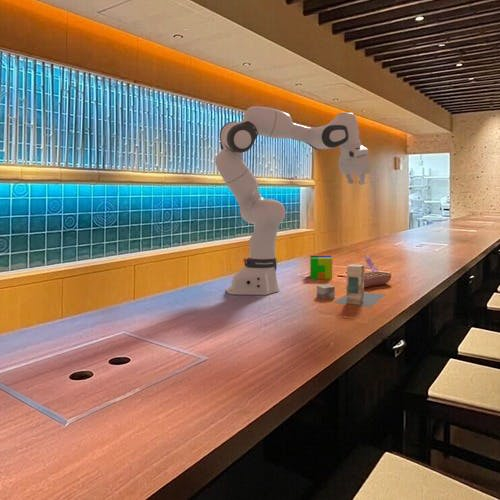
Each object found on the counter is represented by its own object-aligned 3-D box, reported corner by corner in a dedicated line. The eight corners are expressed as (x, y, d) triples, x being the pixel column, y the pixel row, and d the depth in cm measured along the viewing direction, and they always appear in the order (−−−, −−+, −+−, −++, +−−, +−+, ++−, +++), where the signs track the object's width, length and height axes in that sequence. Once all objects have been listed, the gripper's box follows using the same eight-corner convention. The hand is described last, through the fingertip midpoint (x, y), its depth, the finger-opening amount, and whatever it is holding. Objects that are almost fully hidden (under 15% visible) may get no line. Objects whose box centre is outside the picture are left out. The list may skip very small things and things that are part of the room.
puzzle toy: (330, 275, 234) (330, 255, 233) (332, 279, 224) (332, 258, 223) (310, 275, 235) (310, 255, 234) (311, 279, 225) (311, 258, 224)
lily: (362, 279, 229) (373, 262, 226) (349, 266, 239) (359, 250, 236) (378, 283, 236) (389, 267, 233) (365, 271, 245) (374, 256, 242)
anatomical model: (360, 291, 197) (360, 279, 197) (343, 287, 205) (343, 276, 205) (395, 284, 210) (395, 274, 209) (378, 281, 218) (378, 271, 218)
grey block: (323, 300, 181) (324, 288, 180) (316, 298, 186) (316, 285, 185) (334, 299, 183) (334, 286, 183) (327, 296, 188) (327, 284, 187)
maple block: (359, 304, 173) (360, 267, 171) (346, 302, 175) (346, 266, 173) (363, 301, 177) (364, 264, 175) (350, 300, 180) (351, 264, 178)
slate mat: (370, 307, 169) (370, 306, 169) (333, 303, 176) (333, 302, 176) (385, 295, 188) (385, 294, 188) (351, 292, 195) (351, 291, 195)
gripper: (333, 153, 206) (338, 184, 209) (356, 152, 187) (362, 186, 190) (345, 150, 208) (350, 181, 211) (370, 149, 188) (375, 183, 192)
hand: (356, 183), depth 200 cm, fingers open, 8 cm apart
